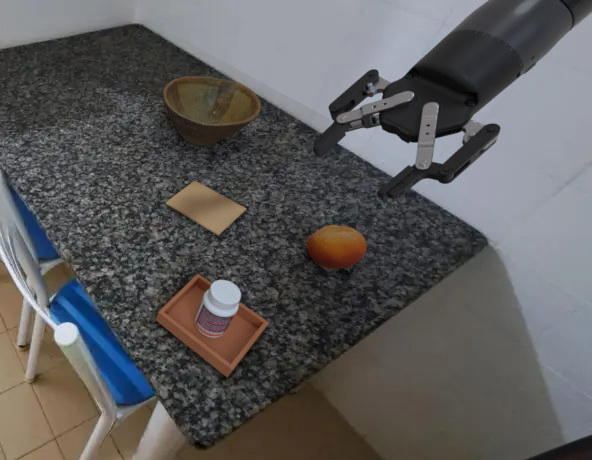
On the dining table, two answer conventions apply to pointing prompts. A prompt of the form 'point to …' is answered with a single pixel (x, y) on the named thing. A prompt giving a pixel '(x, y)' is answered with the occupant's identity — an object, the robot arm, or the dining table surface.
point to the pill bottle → (217, 308)
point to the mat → (206, 207)
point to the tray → (214, 350)
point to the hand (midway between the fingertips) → (346, 174)
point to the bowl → (209, 108)
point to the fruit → (336, 247)
